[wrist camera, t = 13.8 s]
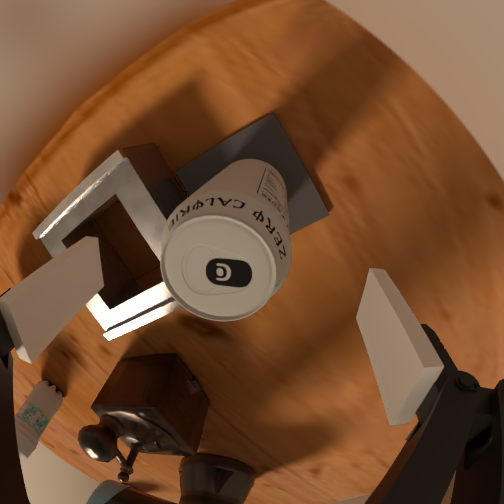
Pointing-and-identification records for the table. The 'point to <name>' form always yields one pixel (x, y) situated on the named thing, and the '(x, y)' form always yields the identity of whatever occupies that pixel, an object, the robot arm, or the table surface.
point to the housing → (83, 224)
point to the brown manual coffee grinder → (146, 411)
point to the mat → (270, 151)
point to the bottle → (35, 416)
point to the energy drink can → (229, 243)
